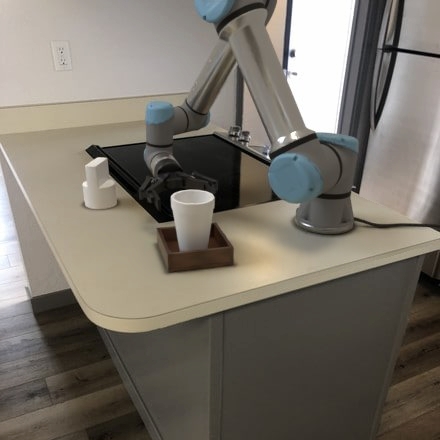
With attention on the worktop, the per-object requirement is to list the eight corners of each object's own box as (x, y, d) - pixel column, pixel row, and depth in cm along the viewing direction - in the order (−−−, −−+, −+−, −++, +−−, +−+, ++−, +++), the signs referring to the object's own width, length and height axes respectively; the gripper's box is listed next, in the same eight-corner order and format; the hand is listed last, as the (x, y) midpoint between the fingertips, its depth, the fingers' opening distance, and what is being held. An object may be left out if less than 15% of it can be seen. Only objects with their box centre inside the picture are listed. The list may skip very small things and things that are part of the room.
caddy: (216, 238, 120) (216, 222, 118) (233, 264, 108) (233, 247, 106) (157, 244, 117) (156, 227, 114) (168, 272, 105) (167, 254, 102)
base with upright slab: (110, 210, 135) (105, 167, 129) (79, 207, 136) (73, 165, 130) (121, 199, 143) (117, 158, 137) (92, 197, 144) (87, 156, 138)
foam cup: (192, 239, 118) (191, 186, 111) (222, 250, 113) (223, 196, 106) (164, 252, 111) (161, 197, 105) (194, 264, 106) (193, 207, 100)
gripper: (210, 179, 138) (236, 210, 121) (122, 189, 131) (136, 223, 114) (210, 153, 133) (237, 181, 117) (119, 162, 127) (133, 193, 110)
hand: (187, 202), depth 116 cm, fingers open, 13 cm apart
